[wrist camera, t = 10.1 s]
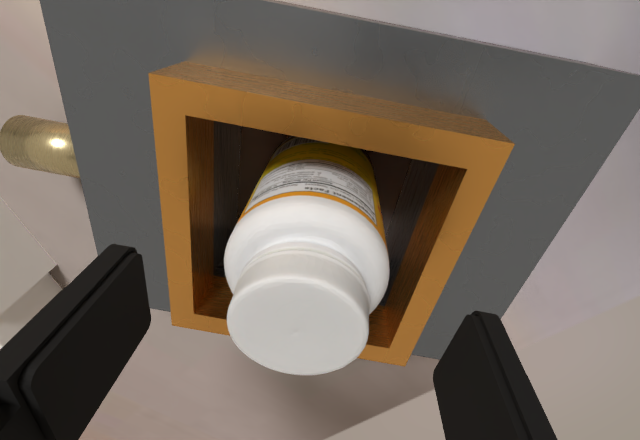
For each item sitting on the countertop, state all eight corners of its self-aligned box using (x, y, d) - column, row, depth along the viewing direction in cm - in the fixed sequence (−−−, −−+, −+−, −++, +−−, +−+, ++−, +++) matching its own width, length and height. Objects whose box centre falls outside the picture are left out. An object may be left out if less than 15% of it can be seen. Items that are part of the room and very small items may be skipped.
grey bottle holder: (585, 62, 14) (732, 96, 9) (452, 310, 22) (485, 410, 17) (8, -54, 14) (-221, -94, 8) (83, 243, 22) (-8, 324, 16)
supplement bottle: (335, 237, 20) (324, 413, 11) (251, 188, 19) (166, 345, 10) (397, 164, 17) (445, 320, 9) (304, 100, 16) (251, 210, 7)
